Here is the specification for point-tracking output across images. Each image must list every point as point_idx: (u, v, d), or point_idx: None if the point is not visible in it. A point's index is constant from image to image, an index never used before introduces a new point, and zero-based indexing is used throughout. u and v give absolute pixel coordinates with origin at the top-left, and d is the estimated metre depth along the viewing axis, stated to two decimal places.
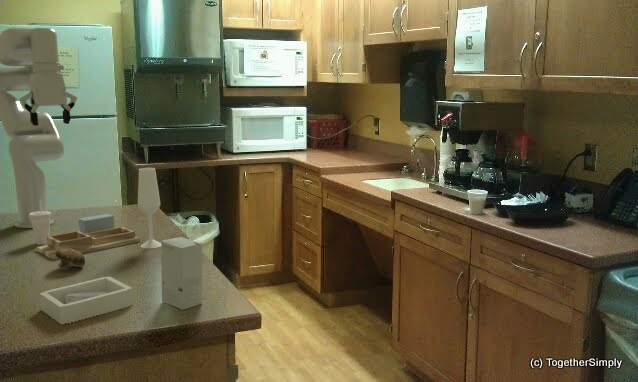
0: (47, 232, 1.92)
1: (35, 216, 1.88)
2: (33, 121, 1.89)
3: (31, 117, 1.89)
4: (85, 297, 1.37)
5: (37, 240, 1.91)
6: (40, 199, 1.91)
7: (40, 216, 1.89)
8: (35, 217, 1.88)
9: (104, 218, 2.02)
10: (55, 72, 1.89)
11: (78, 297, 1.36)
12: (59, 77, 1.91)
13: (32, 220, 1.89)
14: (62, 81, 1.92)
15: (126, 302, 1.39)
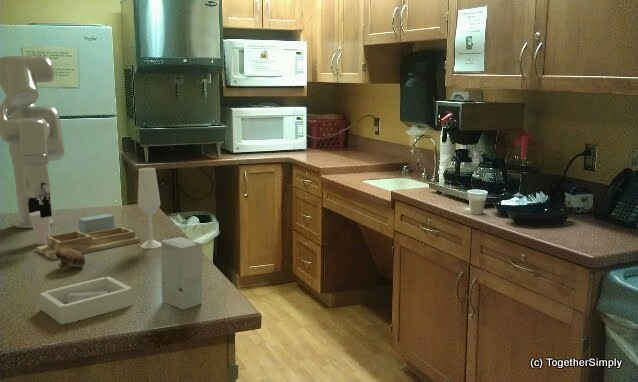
0: (47, 232, 1.92)
1: (35, 216, 1.88)
2: None
3: (46, 209, 1.86)
4: (87, 296, 1.37)
5: (37, 240, 1.91)
6: None
7: None
8: (35, 217, 1.88)
9: (104, 218, 2.02)
10: None
11: (80, 296, 1.37)
12: None
13: (32, 220, 1.89)
14: None
15: (126, 302, 1.39)
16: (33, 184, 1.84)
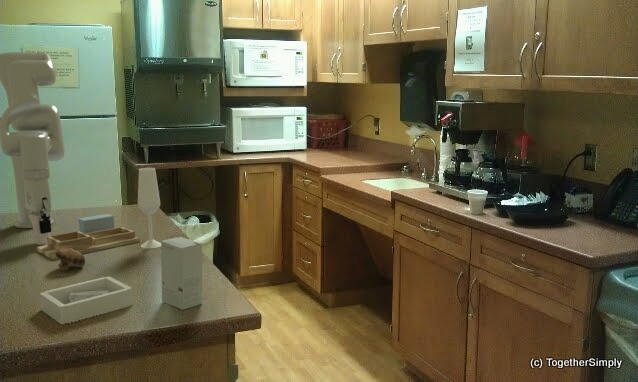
0: None
1: (35, 216, 1.88)
2: None
3: (46, 225, 1.89)
4: (89, 296, 1.38)
5: (37, 240, 1.91)
6: None
7: None
8: (35, 217, 1.88)
9: (104, 218, 2.02)
10: None
11: (82, 296, 1.37)
12: None
13: (32, 220, 1.89)
14: None
15: (126, 302, 1.39)
16: (34, 199, 1.85)
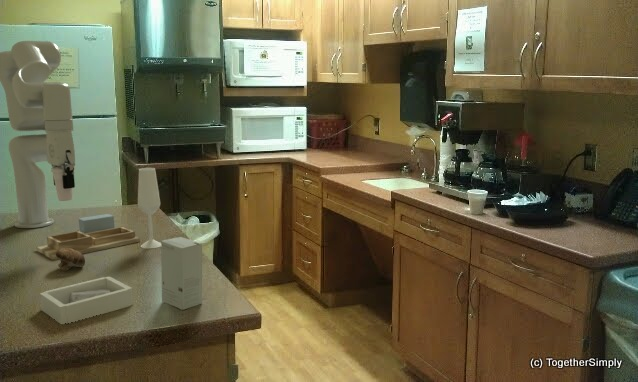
0: (70, 188, 1.81)
1: (58, 170, 1.78)
2: None
3: (70, 180, 1.78)
4: (92, 295, 1.38)
5: (60, 196, 1.80)
6: None
7: None
8: (58, 171, 1.78)
9: (104, 218, 2.02)
10: None
11: (85, 295, 1.38)
12: None
13: (55, 174, 1.79)
14: None
15: (126, 302, 1.39)
16: (58, 151, 1.75)
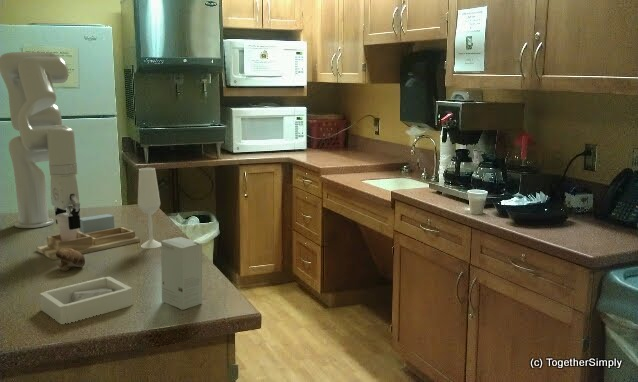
0: (74, 235, 1.84)
1: (62, 218, 1.80)
2: None
3: (75, 221, 1.79)
4: (95, 293, 1.39)
5: None
6: None
7: (67, 218, 1.81)
8: (62, 219, 1.81)
9: (104, 218, 2.02)
10: None
11: (88, 294, 1.38)
12: None
13: (59, 222, 1.81)
14: None
15: (126, 302, 1.39)
16: (62, 195, 1.77)
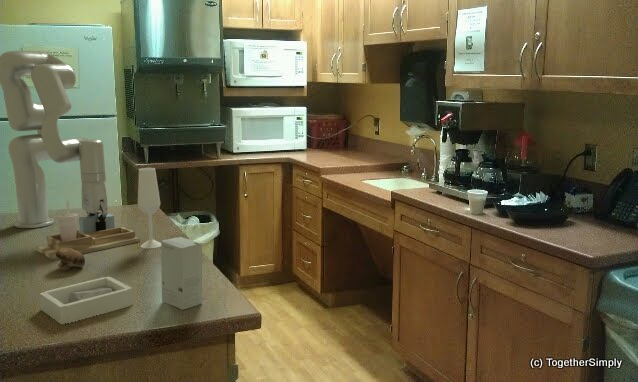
0: (74, 235, 1.84)
1: (62, 218, 1.80)
2: None
3: (102, 226, 2.00)
4: (96, 292, 1.40)
5: None
6: None
7: (67, 218, 1.81)
8: (62, 219, 1.81)
9: None
10: None
11: (90, 293, 1.39)
12: None
13: (59, 222, 1.81)
14: None
15: (126, 302, 1.39)
16: (93, 201, 1.96)
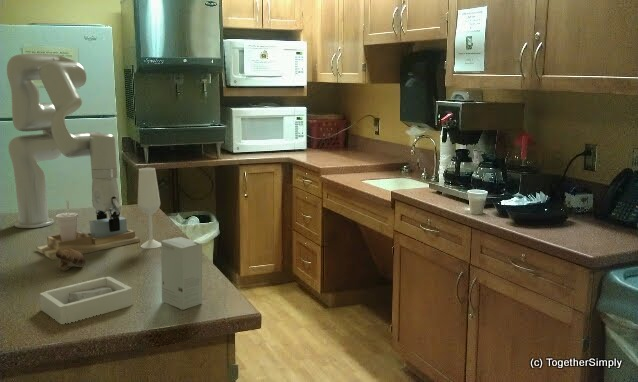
0: (74, 235, 1.84)
1: (62, 218, 1.80)
2: None
3: (116, 223, 1.89)
4: (97, 292, 1.40)
5: None
6: None
7: (67, 218, 1.81)
8: (62, 219, 1.81)
9: None
10: None
11: (90, 293, 1.39)
12: None
13: (59, 222, 1.81)
14: None
15: (126, 302, 1.39)
16: (104, 198, 1.86)
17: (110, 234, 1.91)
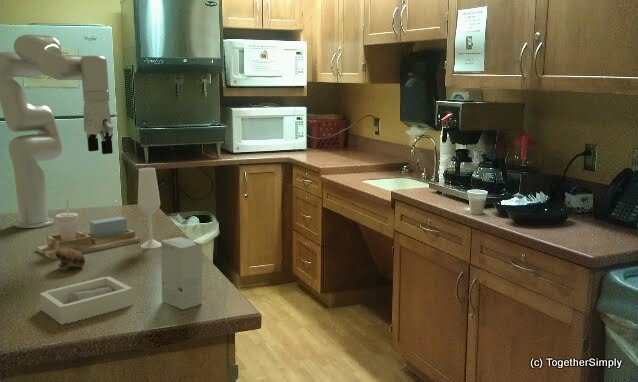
0: (74, 235, 1.84)
1: (62, 218, 1.80)
2: None
3: (108, 145, 1.86)
4: (97, 292, 1.40)
5: None
6: None
7: (67, 218, 1.81)
8: (62, 219, 1.81)
9: (116, 221, 1.92)
10: None
11: (91, 293, 1.39)
12: None
13: (59, 222, 1.81)
14: None
15: (126, 302, 1.39)
16: (95, 120, 1.84)
17: (110, 234, 1.91)
